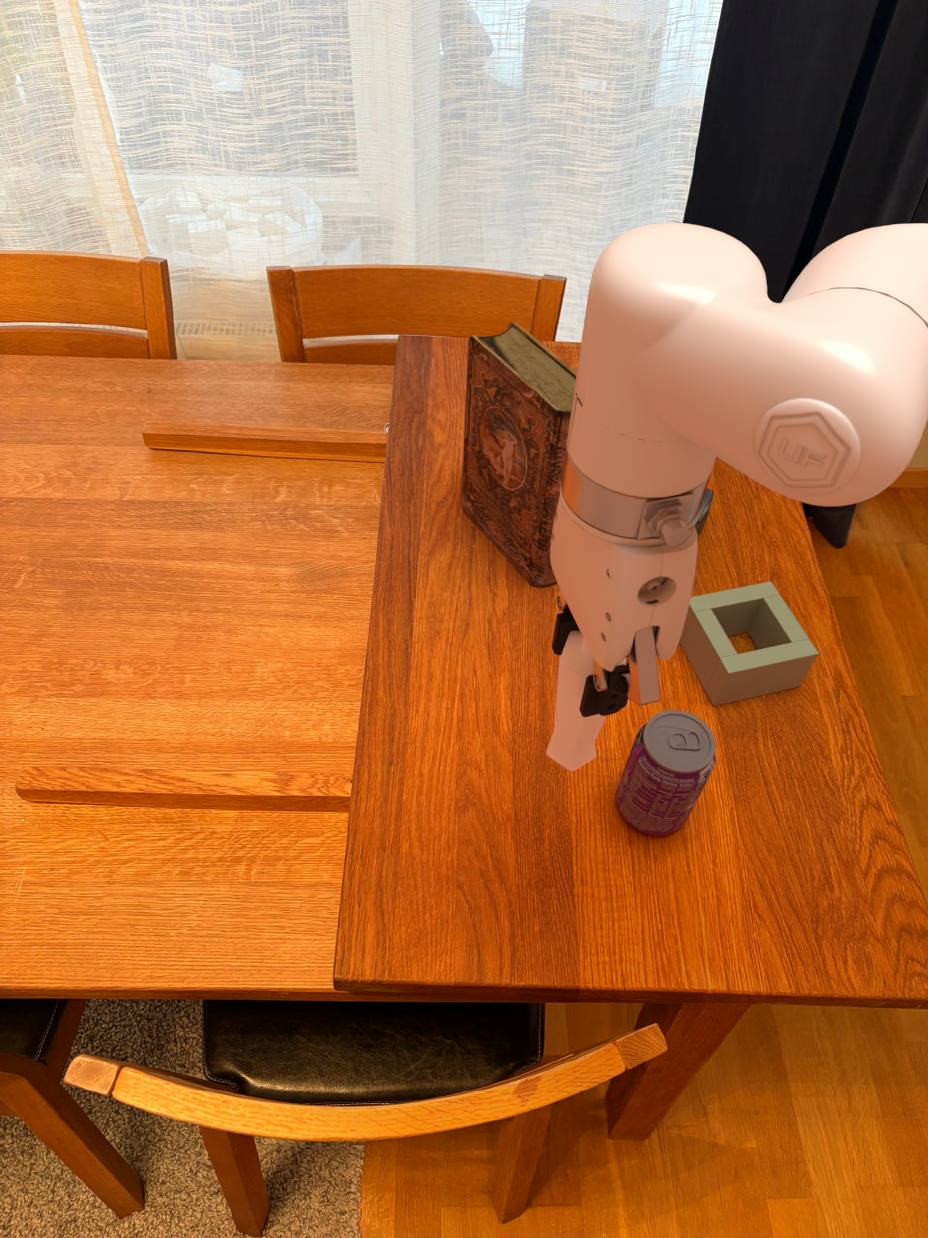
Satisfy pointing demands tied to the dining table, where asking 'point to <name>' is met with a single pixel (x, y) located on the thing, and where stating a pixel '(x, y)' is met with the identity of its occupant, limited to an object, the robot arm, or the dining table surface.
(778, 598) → the holder
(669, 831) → the beverage can
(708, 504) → the mobile phone
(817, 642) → the dining table surface
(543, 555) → the book
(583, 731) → the perfume bottle
